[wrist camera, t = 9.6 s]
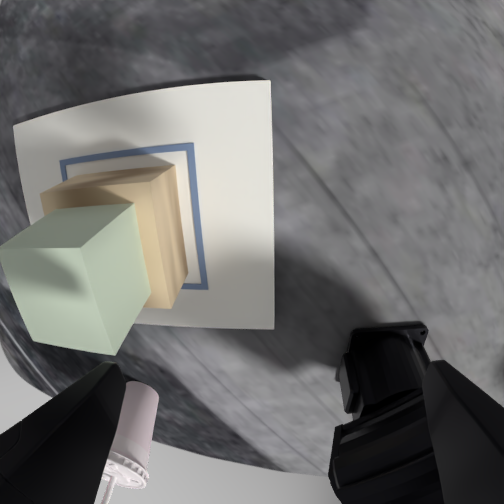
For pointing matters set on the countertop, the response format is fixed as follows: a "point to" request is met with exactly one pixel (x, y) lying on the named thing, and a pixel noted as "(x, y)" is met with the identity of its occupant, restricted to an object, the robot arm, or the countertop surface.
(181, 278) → the maple block
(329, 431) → the countertop surface
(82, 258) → the sage block
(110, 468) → the smoothie
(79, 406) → the robot arm
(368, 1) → the countertop surface
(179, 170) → the white mat
